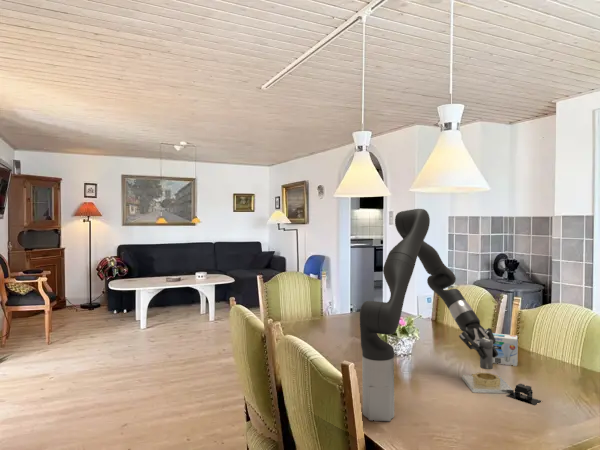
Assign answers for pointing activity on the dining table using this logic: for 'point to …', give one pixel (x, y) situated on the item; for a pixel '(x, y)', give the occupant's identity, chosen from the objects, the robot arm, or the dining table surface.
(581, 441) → the dining table surface
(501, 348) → the light bulb box
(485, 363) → the dark grey capped cylinder
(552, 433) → the dining table surface
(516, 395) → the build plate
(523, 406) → the dining table surface
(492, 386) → the hub plate
